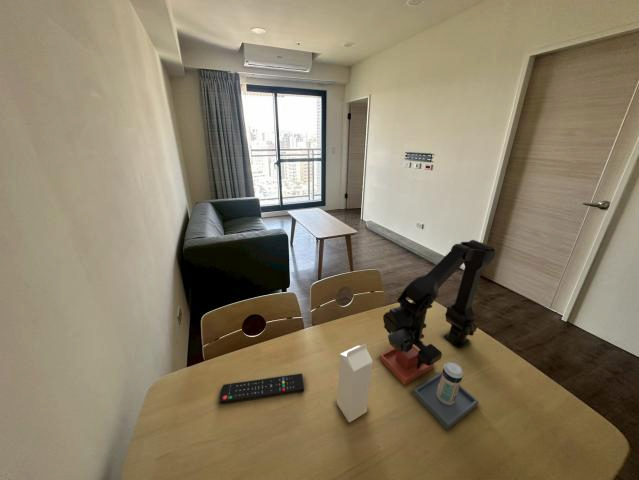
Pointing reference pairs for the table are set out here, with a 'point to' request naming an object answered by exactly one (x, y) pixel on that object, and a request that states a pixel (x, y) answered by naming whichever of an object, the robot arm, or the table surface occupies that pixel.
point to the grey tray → (440, 410)
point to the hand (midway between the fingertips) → (407, 358)
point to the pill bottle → (449, 383)
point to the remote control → (261, 388)
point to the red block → (407, 358)
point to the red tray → (398, 370)
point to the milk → (354, 382)
